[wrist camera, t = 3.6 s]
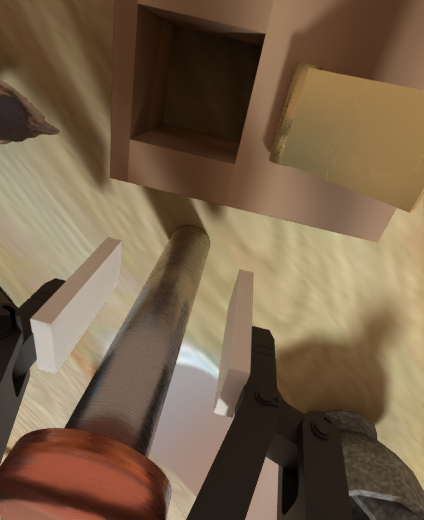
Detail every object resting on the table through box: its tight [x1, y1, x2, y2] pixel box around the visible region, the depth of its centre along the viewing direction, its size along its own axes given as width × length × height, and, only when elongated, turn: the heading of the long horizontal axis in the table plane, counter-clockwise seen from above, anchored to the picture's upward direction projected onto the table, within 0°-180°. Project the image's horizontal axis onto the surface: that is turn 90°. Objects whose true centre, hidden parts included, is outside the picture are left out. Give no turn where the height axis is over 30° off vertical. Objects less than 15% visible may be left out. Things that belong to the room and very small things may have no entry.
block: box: [110, 0, 424, 242], centre depth 14 cm, size 12×8×5 cm, turn 79°
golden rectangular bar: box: [268, 62, 424, 212], centre depth 10 cm, size 5×3×1 cm
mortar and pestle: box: [324, 410, 424, 520], centre depth 23 cm, size 11×9×12 cm
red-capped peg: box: [0, 225, 210, 520], centre depth 14 cm, size 4×4×15 cm
